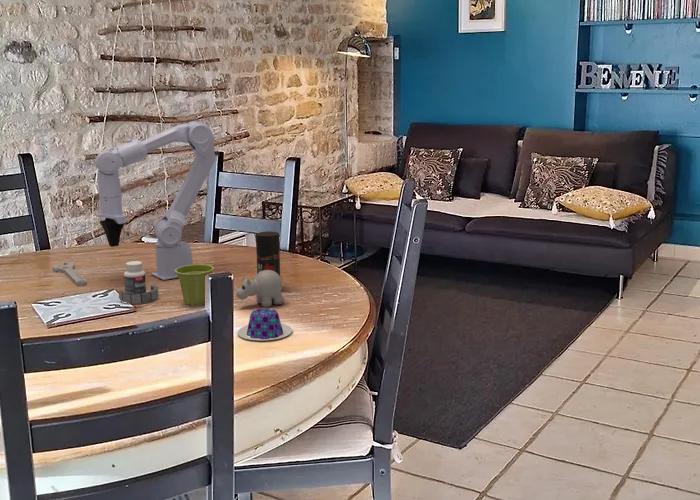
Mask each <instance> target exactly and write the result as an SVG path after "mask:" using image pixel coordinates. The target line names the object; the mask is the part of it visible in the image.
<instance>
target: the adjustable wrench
mask: <svg viewBox="0 0 700 500" xmlns="http://www.w3.org/2000/svg"><path fill="white" fill-rule="evenodd" d="M75 269H76V263H75V262H70V261H67V262H63V265H58V264H53V265H52V271H53V273H61V274H65V276H66V277H68V279H70V281H72V283H73V284H75V286H77V287H86V286H87V285H88V281H87V280H86V279H85V278H84V277H83V276H81V275H80V274H79V272H76V271H75Z"/></svg>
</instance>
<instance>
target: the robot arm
mask: <svg viewBox="0 0 700 500" xmlns="http://www.w3.org/2000/svg"><path fill="white" fill-rule="evenodd" d="M175 142H176V143H185V144H189V145H190V147H191V150H192V152H193V156H194V157H195V159H194V162H193V163H192V165H191V167H190V168H189V170H188V172H187V174H186V176H185V178H184V180H183V181H182V184H181V186H180V188H179V190H178V192H177V194H176V195H175V197H174V199H173V201H172V203H171V205H170V207H169V209H167V210H166V212H165V213H164V214H163V216H162V217H161V218H160V219H159V220H157V221H156V222H155V225H154V227H153V232H154V235H155V236H156V238H157V240H156V241H155V243H154V249H155V261H156V262H155V263H156V271H155V272H152V273H151V276H154V277H155V278H158V279H161V280H162V281H166V280H167V281H168V280H171V279H179V278H178V275H177V273H176V272H175V269H177V268H179V267H182V266H186V265H193V253H192V248H191V246H190V244H189V243H188V242H182V241H181V240H182V234H183V233H182V232H183V228H184V226H185V224H186V223H185V222H186V217H187V215H188V213H189V212H190V209H191V208H192V206H193V204H194V202H195V200H196V198H197V197H198V194H199V193H200V190H201V189H202V187H203V184H204V183H205V181H206V180H207V177H208V176H209V173H210V171H211V170H212V168H213V166H214V163H215V162H216V153H215V136H214V133H213V132H212V129H211V127H210V126H209V125H208V124H206V123H204V122H200V121H198V120H191V121H189V122H187V123H181V124H179V125H175V126H172V127H170V128H168V129H167V130H164V131H162V132H160V133H157V134H155V135H153V136H151V137H149V138H147V139H145V140H139V139H137V138H135V139H132V138H129V139H126V142H125V143H122V144H119V145H117V146H116V147H114V146H111V147H109V150H110V151H107V150H104V151H101V152H99V153H98V155H97V156H95V157H96V158H95V161H94V164H95V167H96V168H97V169H98V170H97V178H98V179H97V187H98V188H97V189H98V198H99V199H98V201H99V209H98V210H97V211H98V213H96V214H95V216H96V217H97V218H104V220H100V221H99V224H100V226H101V227H102V229H103V231H104V234H105V237H106V239H107V240H106V241H107V242H108V245H109V247H118V246H120V239H121V235H122V234H121V233H122V230H123V228H124V225H125V224H126V223H127V222H126V221H127V220H126V215H125V214H124V211H123V203H122V192H121V191H122V189H121V179H120V175H119V174H120V173H119V171H120V168H125V167H128V166H131V165H133V164H135V163H138V162H140V161H142V160H144V159H146V157H147V154H148V153H149V152H151V151H154V150H156V149H159V148H163V147H165V146H167V145H171V144H172V143H175Z"/></svg>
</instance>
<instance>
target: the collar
mask: <svg viewBox="0 0 700 500" xmlns="http://www.w3.org/2000/svg"><path fill="white" fill-rule="evenodd" d="M159 297H160V296H159V287H158V286H157V285H155V284H153V285H150V290H149V291H146V292H144V293H125V290H118V300H119V299H120V300H121V301H123V302H127V303H129V304H128V305H142V304H149V303H153V302H154V301H156V300H158V299H159Z"/></svg>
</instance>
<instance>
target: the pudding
mask: <svg viewBox="0 0 700 500" xmlns="http://www.w3.org/2000/svg"><path fill="white" fill-rule="evenodd" d="M280 319H281V318H280V316H279V313H278V311H277V309H273V308H269V307H267V308H266V307H265V308H264V307H262V308H258V309H254V310H253V311H252V312H251V313H250V315H249V319H248V324H247V325H244V326H243V327H241V328H239V329H238V330H237V335H238V336H240V338H242V339H245V340H251V341H262V342H263V341H274V340H280V339H283V338H285V337H287V336H289V335H291V334H292V332H293V328H292V327H291V326H289V325H287V324H285V323H282V322H281V320H280Z"/></svg>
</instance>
